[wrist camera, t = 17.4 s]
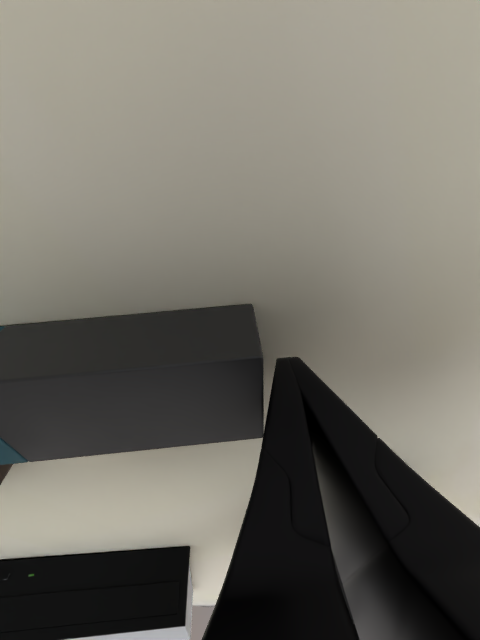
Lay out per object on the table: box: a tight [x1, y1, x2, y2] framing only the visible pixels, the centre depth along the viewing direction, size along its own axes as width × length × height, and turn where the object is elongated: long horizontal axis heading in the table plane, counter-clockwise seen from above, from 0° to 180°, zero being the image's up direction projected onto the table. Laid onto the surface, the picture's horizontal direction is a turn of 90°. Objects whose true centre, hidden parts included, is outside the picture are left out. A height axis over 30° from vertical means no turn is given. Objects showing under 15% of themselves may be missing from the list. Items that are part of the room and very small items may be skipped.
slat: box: [0, 304, 264, 465], centre depth 8 cm, size 16×4×2 cm, turn 93°
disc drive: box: [0, 547, 193, 640], centre depth 28 cm, size 18×22×5 cm
